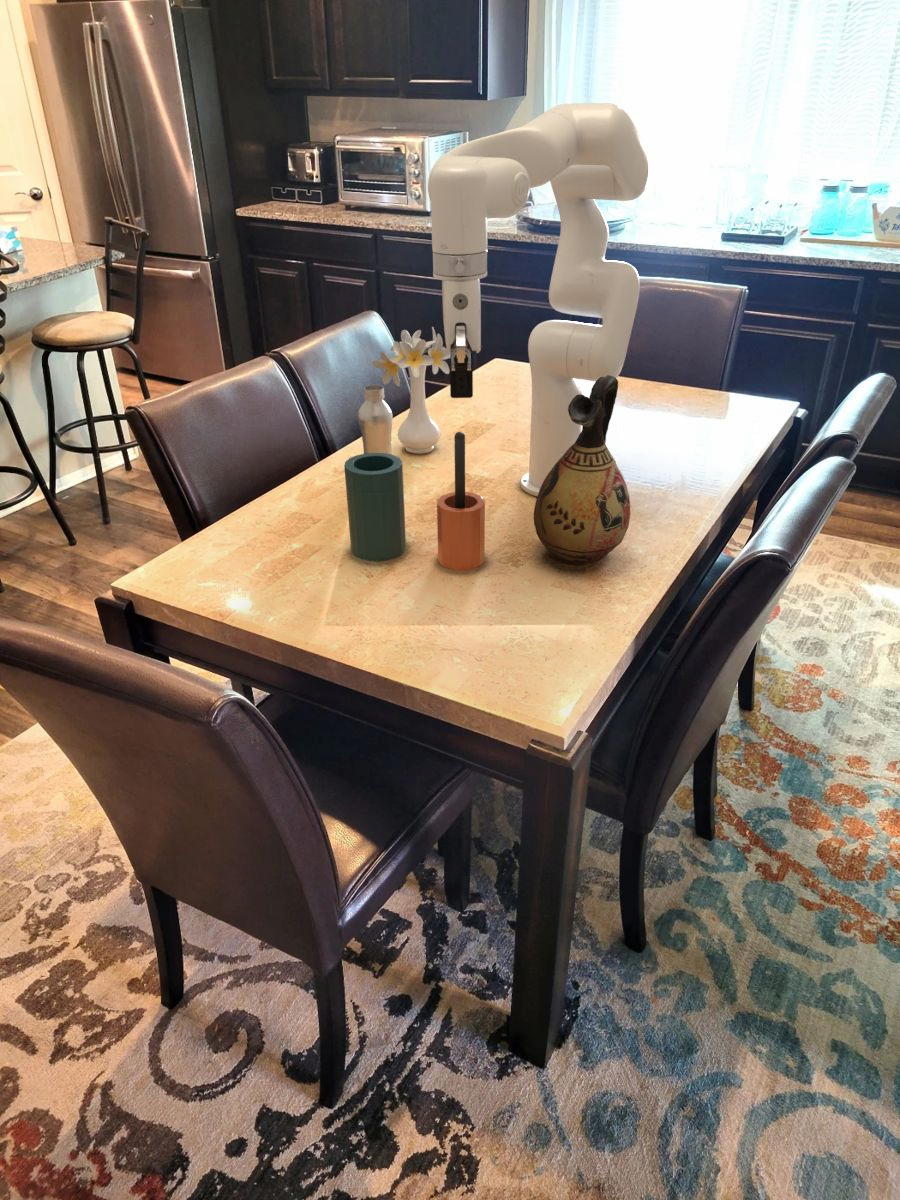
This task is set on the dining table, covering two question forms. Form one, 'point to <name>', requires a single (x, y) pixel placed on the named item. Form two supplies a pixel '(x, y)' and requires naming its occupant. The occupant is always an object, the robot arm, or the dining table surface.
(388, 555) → the teal hollow cylinder
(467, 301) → the robot arm
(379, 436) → the metal bottle
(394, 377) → the flower vase
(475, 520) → the crock
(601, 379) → the ceramic jug
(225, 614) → the dining table surface
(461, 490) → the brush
